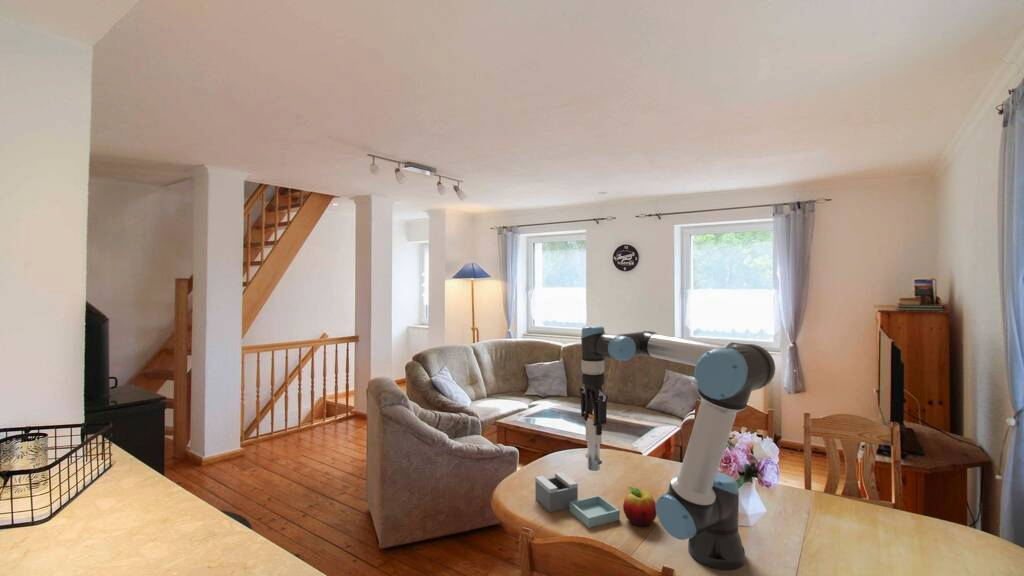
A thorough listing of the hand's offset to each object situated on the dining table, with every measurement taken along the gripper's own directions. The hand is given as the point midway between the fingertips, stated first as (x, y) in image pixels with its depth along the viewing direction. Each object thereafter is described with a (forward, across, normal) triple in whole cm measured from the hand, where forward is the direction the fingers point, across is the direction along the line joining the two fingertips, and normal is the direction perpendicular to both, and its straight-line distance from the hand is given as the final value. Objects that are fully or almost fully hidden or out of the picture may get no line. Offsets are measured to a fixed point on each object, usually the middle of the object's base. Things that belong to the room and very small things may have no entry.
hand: (593, 441), depth 161 cm
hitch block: (+25, +14, +7) cm, 29 cm away
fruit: (+25, -10, -12) cm, 29 cm away
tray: (+25, 0, 0) cm, 25 cm away
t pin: (+9, 0, 0) cm, 9 cm away
